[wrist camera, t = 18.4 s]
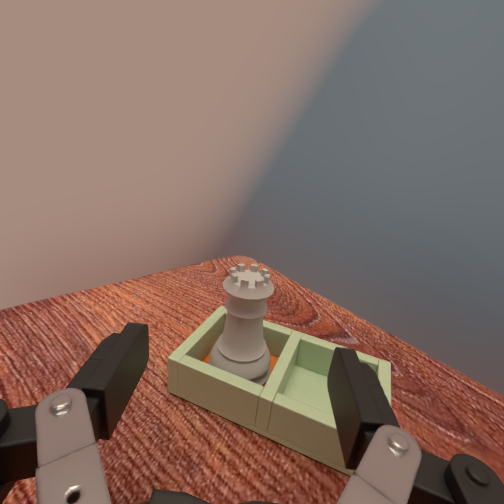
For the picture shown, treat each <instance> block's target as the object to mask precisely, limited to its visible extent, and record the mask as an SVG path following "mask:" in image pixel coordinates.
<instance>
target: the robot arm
mask: <svg viewBox="0 0 504 504" xmlns="http://www.w3.org/2000/svg"><path fill="white" fill-rule="evenodd" d="M148 358H149V336H148V325H147V324H140V323H132V322H129V323H128V324H127V325H126V326H125V328H124V329H123V330H122V332H121V333H120V334H119V333H113V334H111V335H110V336H108V337H107V338H105V339H104V340H102V342H101V343H100V344H99V346H98V347H97V348H96V350H95V351H94V352H93V353H92V355H91V356H90V358H89V359H88V360H87V361H86V362H85V364H84V365H83V366H82V368H81V369H80V370H79V371H78V373H77V374H76V375H75V377H74V378H73V379H72V381H71V382H70V383H69V384H68V386H67V387H66V388H65V389H61V390H58V391H55V392H53V393H51V394H49V395H48V396H46V397H45V398H44V399H43V400H42V401H41V402H40V403H39V404H38V405H33V406H27V407H20V408H13V409H8V406H7V403H6V402H5V401H4V400H3V399H0V504H2V503H3V501H4V499H5V498H6V496H7V495H8V493H9V492H10V490H11V489H12V487H13V486H14V484H15V483H16V481H17V480H22V479H26V478H31V477H36V495H37V504H111V500H110V496H109V491H108V487H107V483H106V478H105V474H104V470H103V465H102V461H101V457H100V452H99V448H98V444H97V441H98V439H104V440H109V439H110V437H111V435H112V433H113V432H114V430H115V428H116V426H117V424H118V422H119V420H120V418H121V416H122V414H123V412H124V410H125V408H126V406H127V404H128V402H129V400H130V398H131V396H132V394H133V392H134V390H135V388H136V386H137V384H138V382H139V380H140V378H141V376H142V374H143V372H144V370H145V368H146V366H147V362H148ZM380 384H381V383H380V381H379V379H378V377H377V374H376V372H375V371H374V370H373V369H372V368H371V367H370V366H369V365H368V364H367V363H362V362H360V361H359V358H358V356H357V353H356V351H355V349H350V348H342V347H336V348H335V350H334V353H333V357H332V361H331V364H330V368H329V372H328V377H327V388H328V393H329V398H330V402H331V406H332V411H333V415H334V420H335V424H336V428H337V433H338V437H339V441H340V446H341V450H342V454H343V459H344V463H345V467H346V469H350V470H356V471H355V472H353V474H352V475H351V477H350V479H349V481H348V483H347V485H346V487H345V489H344V491H343V492H342V494H341V496H340V498H339V500H338V502H337V504H504V485H503V484H502V482H501V480H500V479H499V477H498V476H497V475H496V474H495V472H494V471H493V470H492V469H491V468H489V467H488V466H487V465H486V464H485V463H483V462H482V461H480V460H478V459H477V458H475V457H473V456H470V455H467V454H456V455H454V456H453V457H452V458H451V460H450V462H449V461H447V460H444V459H442V458H439V457H437V456H434V455H432V454H429V453H427V452H425V451H423V450H421V449H420V447H419V445H418V444H417V442H416V441H415V439H414V438H413V437H412V436H411V435H410V434H408V433H407V432H406V431H404V430H402V429H401V428H400V426H399V424H398V422H397V419H396V417H395V415H394V413H393V410H392V408H391V406H390V404H389V401H388V399H387V397H386V395H385V394H384V393H385V392H384V390H383V388H382V386H381V385H380ZM140 504H210V503H208V502H206V501H204V500H201V499H199V498H197V497H195V496H192V495H190V494H188V493H184V492H175V491H167V490H158V489H153V492H152V495H151V498H150V501H147V502H143V503H140ZM240 504H277V503H269V502H260V501H250V502H245V503H240Z"/></svg>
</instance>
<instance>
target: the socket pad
mask: <svg viewBox="0 0 504 504" xmlns="http://www.w3.org/2000/svg"><path fill="white" fill-rule="evenodd" d="M226 318H227V310H226V308H225V307H223V306H220V307H219V308H218V309H217V310H216V311H215V312H214V313H213V314H212V315H211V316H210V317H209V318H208V319H207V320H205V321H204V322H203V323H202V324H201V325H200V326H199V327H198V328H197V329H196V330H195V331H194V332H193V333H192V334H191V335H190V336H189V337H188V338H187V339H186V340H185V341H184V342H183V343H182V344H181V345H180V346H179V347H178V348H177V349H176V350H175V351H174V352H173V353H172V354H171V355H170V356H169V357H168V392H170V393H172V394H174V395H176V396H179V397H181V398H183V399H185V400H187V401H189V402H192V403H194V404H196V405H198V406H200V407H202V408H204V409H207V410H209V411H211V412H213V413H215V414H217V415H220V416H222V417H224V418H226V419H228V420H230V421H233V422H235V423H237V424H239V425H241V426H243V427H245V428H248V429H250V430H252V431H254V432H256V433H258V434H261V435H263V436H265V437H267V438H269V439H271V440H274V441H276V442H278V443H280V444H282V445H284V446H286V447H289V448H291V449H293V450H295V451H297V452H299V453H302V454H304V455H306V456H308V457H310V458H312V459H314V460H317V461H319V462H321V463H323V464H325V465H327V466H330V467H332V468H334V469H336V470H338V471H340V472H343V473H345V474H347V475H349V476H351V475H352V474H353V472H355V471H356V470H350V469H346V467H345V463H344V459H343V454H342V450H341V446H340V441H339V437H338V433H337V428H336V424H335V420H334V415H333V411H332V406H331V402H330V398H329V393H328V388H327V377H328V372H329V368H330V364H331V361H332V357H333V353H334V350H335V348H336V347H342V348H346V347H343V346H340V345H337V344H334V343H331V342H328V341H325V340H322V339H319V338H316V337H313V336H310V335H307V334H304V333H303V334H302V333H301V332H298V331H295V330H292V329H289V328H286V327H283V326H280V325H277V324H274V323H271V322H268V321H265V320H263V338H264V340H265V341H266V345H267V347H268V349H269V352H270V356H271V363H270V369H271V370H270V374H269V378H268V379H267V381H266V382H265V383H264V384H263V385H262V386H261V385H258V384H256V383H254V382H251V381H249V380H246V379H244V378H241V377H239V376H236V375H234V374H231V373H229V372H227V371H224V370H222V369H219V368H217V367H214V366H212V365H209V363H208V362H209V361H210V352H211V349H212V348H213V346H214V344H215V342H216V341H217V340H218V338H219V337H220V335H221V334H222V333H223V330H224V326H225V322H226ZM356 353H357V356H358V358H359V361H360V362H362V363H367V364H368V365H369V366H370V367H371V368H372V369H373V370H374V371H375V372H376V374H377V377H378V379H379V381H380V383H381V384H380V385H381V386H382V388H383V390H384V392H385V393H384V394H385V395H386V397H387V399H388V401H389V404H390V406H391V363H390V362H388V361H385V360H382V359H378V358H376V357H373V356H370V355H367V354H364V353H361V352H358V351H356Z"/></svg>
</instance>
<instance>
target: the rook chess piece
mask: <svg viewBox="0 0 504 504" xmlns="http://www.w3.org/2000/svg"><path fill="white" fill-rule="evenodd" d="M258 266H259V265H255V264H251V270H245V264H244V263H243V264H237V271H236V268H235V267H232V268H231V269H230V275H229V276H228V277H227V278H226V279H225V281H224V282H223V288H224V289H225V291H226V292H227V293H228V295H229V298H228V299H227V301H226V302H225V308H226V310H227V318H226V322H225V326H224V330H223V333H222V334H221V335H220V337H219V338H218V340H217V341H216V342H215V344H214V346H213V348H212V349H211V352H210V361H209V362H208V363H209V365H212V366H214V367H217V368H219V369H222V370H224V371H227V372H229V373H231V374H234V375H236V376H239V377H241V378H244V379H246V380H249V381H251V382H254V383H256V384H258V385H261V386H262V385H263V384H264V383H265V382H266V381H267V379H268V378H269V374H270V370H271V369H270V363H271V356H270V352H269V349H268V347H267V345H266V341H265V340H264V338H263V317H264V314H266V312H267V310H268V307H267V304H266V303H265V300H266V299H267V298H268V297H269V296H270V295H271V294H273V291H274V287H273V284H272V283H271V281H270V274H269V271H268V270H267V269H266V268H262V269H261V273H260V272H258Z"/></svg>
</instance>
